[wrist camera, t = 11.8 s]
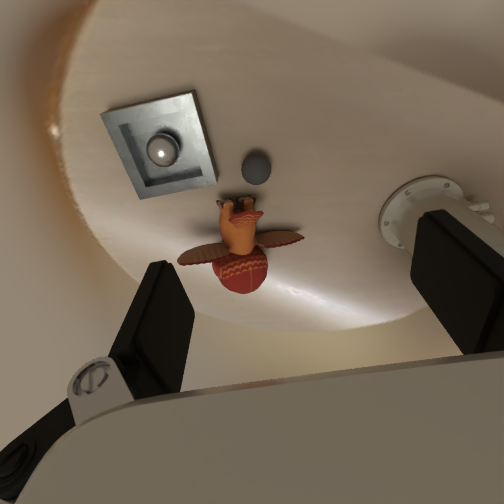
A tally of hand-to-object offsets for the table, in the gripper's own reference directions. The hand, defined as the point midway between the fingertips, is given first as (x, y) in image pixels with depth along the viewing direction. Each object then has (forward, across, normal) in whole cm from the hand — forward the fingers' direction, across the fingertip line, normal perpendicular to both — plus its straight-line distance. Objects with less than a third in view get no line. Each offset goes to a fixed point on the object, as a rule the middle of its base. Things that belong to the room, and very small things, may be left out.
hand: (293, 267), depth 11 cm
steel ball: (+28, +13, +1) cm, 31 cm away
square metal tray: (+31, +13, +1) cm, 33 cm away
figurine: (+32, +6, +16) cm, 36 cm away
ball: (+29, +2, +6) cm, 30 cm away
